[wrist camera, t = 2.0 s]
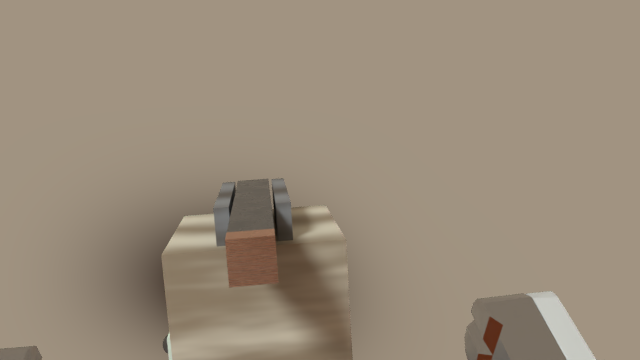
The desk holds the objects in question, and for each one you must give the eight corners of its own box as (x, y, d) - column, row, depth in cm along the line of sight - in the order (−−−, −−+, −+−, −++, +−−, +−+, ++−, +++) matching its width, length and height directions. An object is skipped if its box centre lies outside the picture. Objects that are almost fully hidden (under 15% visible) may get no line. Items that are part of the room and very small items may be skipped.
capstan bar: (240, 210, 48) (238, 181, 48) (270, 208, 49) (268, 178, 48) (229, 287, 29) (224, 239, 29) (278, 283, 29) (275, 235, 29)
